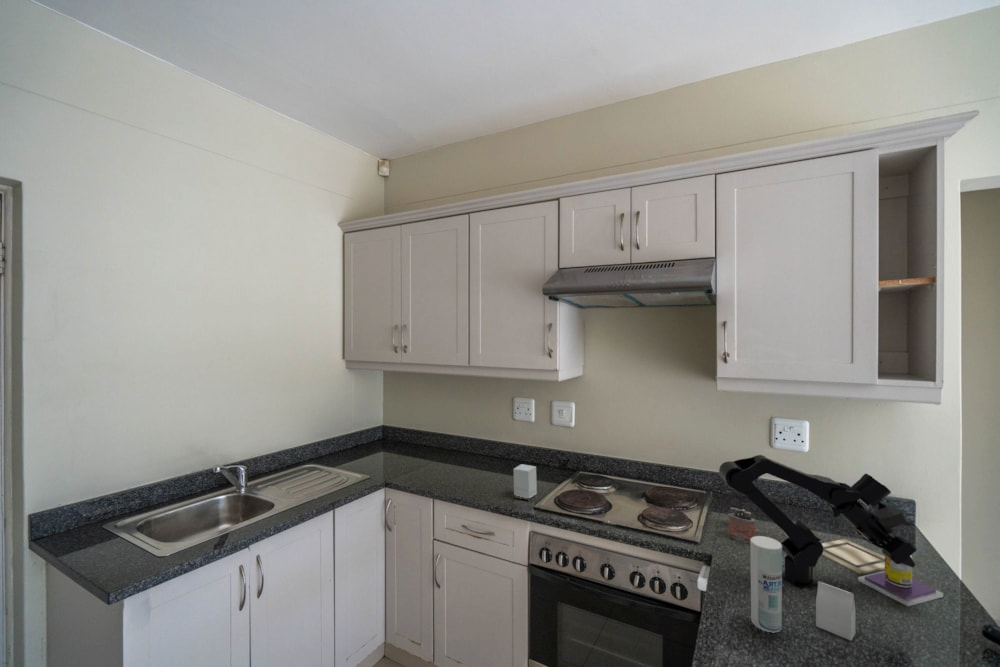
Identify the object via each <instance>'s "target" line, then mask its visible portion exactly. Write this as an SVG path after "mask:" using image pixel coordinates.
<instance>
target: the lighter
mask: <svg viewBox="0 0 1000 667" xmlns="http://www.w3.org/2000/svg"><path fill="white" fill-rule="evenodd" d="M730 512H731V513H728V538H730V539H732V538H733V539H732V540H735V539H736V540H735V541H737V542H741V543H745V544H750V540H751V538H752V537H754V536H756V519H755V518H753V517H752V512H751V511H747V510H746V509H743V508H742V509H739V508H736V507H730Z"/></svg>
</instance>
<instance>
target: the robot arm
mask: <svg viewBox="0 0 1000 667" xmlns="http://www.w3.org/2000/svg"><path fill="white" fill-rule="evenodd" d="M718 469H719V470H718V474H719V476H720V477H721V478H722V479H723V480H724V481H725V482H726V484H727V485H728V486H730V487H731V488H732V489H733V490H735V491H736V492H738V493H739V494H742V495H744V496H745V497H746V498H748V499H749V500H750V501H751V502H752V503H753V504H755V506H757V507H758V508H759V509H760V510H761V511H762V512H763V513H764V514H765V515H766V516H767V517H768V518H769V519H770V520H771V521H772V522H773V523H775V525H776V526H778V527H779V528H780V530H782V532H783V533H784V535H785V536H786V538H785V539H784V540H783V541H782V542H780V543H781V545H782V552H784V553H785V554H786V555H785V556H784V573H783V572H782V579H784V580H785V581H787V582H789V583H790V584H792V585H794V587H797V588H798V589H803V588H808V587H812V586H818V581H816V580H815V579H813V577H814V568H815V567H816V566H817V563H818V561H819V558H820V557H821V556H822V553H823V545H822V544H821V543H822V542H821V541H822V539H821V538H820V537H819V536H818V535H817V534H816V533H815V532H813V531H812V530H811V529H810V528H809V527H808V526H807V525H806V524H805V523H804V522H802V521H801V520H800V519H798V520H797V521H796V522H795V521H793V520H791V519H790V518H789V517H788V516H787V515H786V514H785V513H784V512H783V511H782V510H781V509H780V508H779V507H778V506H776V505H775V504H774V502H772V500H770V499H769V498H768V497H767V496H765V494H764V493H763V492H761V491H760V490H759V489H758V488H757V486H756V485H755V483H754V482H755V481H756V480H757V479H758V478H760V477H762V476H763V475H765V474H768V475H770V476H773V477H775V478H778V479H780V480H783V481H785V482H787V483H790V484H792V485H796V486H798V487H800V488H803V489H805V490H807V491H809V492H811V493H813V494H814V495H815V496H817V497H819V498H820V499H822V500H824V501H826V502H827V503H828V504H827V513H828V514H829V515H830V516H832V517H833V518H838V517H839V516H842V517H843V519H845V520H846V521H847V522H848V523H849V526H850V529H851V530H852V531H854V532H855V534H857V535H858V536H859V537H862V538H863V539H864V540H865V541H866V542H868V543H869V544H872V545H873V546H876V547H877V548H879V549H881V553H882V554H883V555H884V556H885V555H886V556H887V557H888V558H889V559H890V560H892V561H893V562H894V563H896V564H900V563H902V564H905V565H907V566H910V567H912V568H915V566H916V563H915V562H914V560H913V557H912V558H911V557H910V555H911V556H912V555H913V554H914V553H916V551H917V548H916V547H915V546H914V544H912V543H911V542H910V541H909V540H907V539H905V538H904V537H902V536H899V535H898V536H894V537H893V536H891V535H890V534H892V533H894V530H893V528H896V527H898V526H902V525H903V526H904V525H907V524H908V520H907V518H906V516H905V514H904V512H903V511H902V510H901V509H899V508H898V507H896V506H895V505H891V504H885V503H883V502H882V501H883V500H884V499H886V498H887V497H888V496H889V495H890V494H892V491H891V490H890V489H889V487H887V486H885V484H882V483H881V482H879V481H878V480H876V479H875V478H874V477H873V476H871V475H870V474H868V473H864V474H863V475H861V477H860V479H859V480H857V481H856V482H855V483H853V485H852V486H850V485H849V484H847V483H845V482H839V481H838V482H837V481H835V480H833V479H832V478H830V477H827V476H822V475H818V474H811V473H806V472H803V471H802V470H798V469H795V468H794V467H790V466H788V465H786V464H783V463H780V462H779V461H776V460H773V459H770V458H767V457H766V456H765V455H762V454H758V455H754V456H752V457H747V458H746V457H745V458H740V459H737V460H734V461H725V462H723V463H722V464H720V466H719V468H718ZM860 502H861V503H860ZM864 505H865V506H866V507H869V506H871V508H873V512H871V511H870V510H868V509H867V508H866V507H865V506H864Z"/></svg>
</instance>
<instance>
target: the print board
mask: <svg viewBox="0 0 1000 667" xmlns="http://www.w3.org/2000/svg"><path fill="white" fill-rule="evenodd" d="M820 543H821V544H822V545H823V553H822V555H821V556H822V557H824V558H826V559H828V560H830V561H832V562H834V563H836V564H838V565H840V566H841V567H844V568H846V569H848V570H850V571H852V572H854V573H855V574H858V575H860V576H861V575H866V574H871V573H874V572H878V571H883V570H885V555H882V554H880V553H877V552H876V551H873V550H872V549H869V548H866V547H864V546H862V545H860V544H858V543H855V542H853V541H850V540H849V539H846V538H843V539H837V540H833V541H827V542H823V543H822V542H820Z"/></svg>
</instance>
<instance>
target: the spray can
mask: <svg viewBox="0 0 1000 667" xmlns="http://www.w3.org/2000/svg"><path fill="white" fill-rule="evenodd" d="M781 543H782V542H780V541H778V540H777V539H774V538H773V537H772V538H771V537H768V536H764V535H755V536H754V537H752V538H751V540H750V543H749V544H750V545H749V546H750V549H749V550H750V551H749V553H750V560H749V561H750V620H751V624H752V623H753V624H754V625H755V626H756V627H758V628H759V629H761V630H763V631H767V632H772V633H775V632H779V631H780V630H781V631H782V627H783V626H782V623H783V622H782V620H783V619H782V618H783V617H782V614H783V613H782V610H783V605H782V604H783V603H782V602H783V601H782V600H783V593H782V591H783V590H782V589H783V578H782V573H783V550H782V545H781ZM753 624H752V625H753ZM756 627H755V628H756ZM781 631H780V632H781Z"/></svg>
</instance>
